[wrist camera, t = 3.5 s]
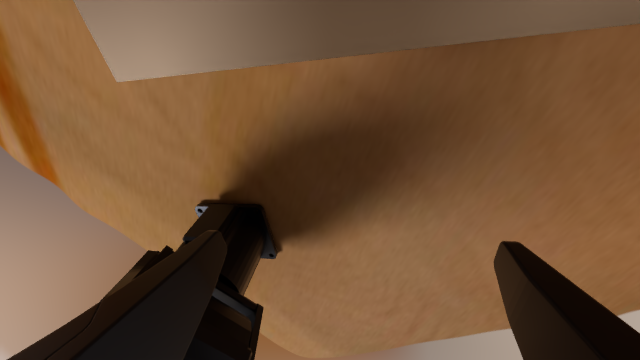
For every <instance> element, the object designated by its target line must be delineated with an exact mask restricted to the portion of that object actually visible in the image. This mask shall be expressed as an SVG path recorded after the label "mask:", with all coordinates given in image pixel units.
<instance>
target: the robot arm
mask: <svg viewBox="0 0 640 360" xmlns="http://www.w3.org/2000/svg"><path fill="white" fill-rule="evenodd" d="M257 210H258V211H257ZM195 211H196V213H197V215H198V217H199V218H198V220H197V221H196V222H195V223H194V224H193V226H192V227H191V228H190V229H189V230H188V232H187V233H186V234H185V235H184V237H183V241H184V242H183V243H182V244H181V245H180V247H179V248H178V249H177V250H176V252H174V251H172V250H173V249H172V248H170V247H169V246H166V247H165V248H164V249H163V250H162V251H161V252H159V251H150V250H148V251H147V252H146V254H145V255H144V256H143V257H142V258H141V259H140V260H139V261H138V262H137V263H136V264H135V265H134V267H133V268H132V269H131V270H130V271H129V272H128V273H127V274H126V275H125V276H124V277H123V278H122V279H121V280H120V281H119V282H118V283H117V284H116V285H115V286H114V287H113V288H112V290H111V291H110V292H108V294H107V295H106V296H105V297H104V298H103V299H102V300H101V301H100V302H99V303H97V304H96V305H94V306H93V307H91V308H90V309H88V310H87V311H85V312H84V313H82V314H81V315H79V316H78V317H76V318H75V319H73V320H71V321H70V322H68V323H67V324H65V325H64V326H62V327H60V328H59V329H57V330H55V331H54V332H52V333H51V334H49V335H47V336H46V337H44V338H42V339H41V340H39V341H37V342H36V343H34V344H32V345H31V346H29V347H27V348H26V349H24V350H22V351H21V352H19V353H17V354H16V355H14V356H12V357H11V358H9V359H7V360H254V357H255V353H256V347H257V341H258V336H259V330H260V324H261V319H262V313H263V306H261V305H259V304H256V303H254V302H252V301H251V300H249V299H248V298H246V297H245V296H244V293H245V291H246V289H247V287H248V285H249V282H250V280H251V278H252V276H253V274H254V271H255V269H256V267H257V265H258V263H259V260H260V258H266V259H275V258H276V256H277V250H276V247H275V243H274V240H273V237H272V234H271V231H270V228H269V225H268V222H267V218H266V215H265V212H264V209H263V207H262V206H260V205H257V204H198V205H197V206H196V207H195ZM494 269H495V272H496V276H497V280H498V284H499V288H500V291H501V295H502V299H503V303H504V306H505V310H506V314H507V317H508V321H509V323H510V326H511V329H512V331H513V334H514V336H515V339H516V342H517V344H518V347H519V349H520V352H521V355H522V357H523V360H640V333H638V332H637V331H636V330H634V329H633V328H632V327H631V326H629V325H628V324H626V323H625V322H624V321H623V320H621V319H620V318H619V317H617V316H616V315H615V314H613V313H612V312H611V311H610V310H608V309H607V308H606V307H604V306H603V305H602V304H600V303H599V302H598V301H596V300H595V299H594V298H592V297H591V296H590V295H588V294H587V293H586V292H584V291H583V290H582V289H580V288H579V287H578V286H576V285H575V284H574V283H573V282H571V281H570V280H569V279H567V278H566V277H565V276H563V275H562V274H561V273H559V272H558V271H557V270H555V269H554V268H553V267H551V266H550V265H549V264H547V263H546V262H545V261H543V260H542V259H541V258H539V257H538V256H537V255H536V254H534V253H533V252H532V251H530V250H529V249H528V248H526V247H525V246H524V245H522V244H521V243H519V242H515V241H502V242H501V243H500V244H499V247H498V250H497V253H496V256H495V259H494Z"/></svg>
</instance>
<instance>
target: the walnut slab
mask: <svg viewBox="0 0 640 360" xmlns="http://www.w3.org/2000/svg"><path fill="white" fill-rule="evenodd" d="M73 1H74V3H75V5H76V6H77V8H78V10H79V12H80V14H81V16H82V18H83V20H84V21H85V23H86V25H87V27H88V29H89V31H90V33H91V35H92V36H93V38H94V40H95V42H96V44H97V46H98V48H99V50H100V51H101V53H102V55H103V57H104V59H105V61H106V63H107V65H108V66H109V68H110V70H111V72H112V74H113V76H114V78H115V80H116V81H117V82H123V81H132V80H141V79H150V78H159V77H168V76H177V75H186V74H195V73H204V72H213V71H221V70H230V69H239V68H248V67H257V66H266V65H275V64H284V63H293V62H302V61H311V60H320V59H329V58H338V57H347V56H355V55H364V54H373V53H382V52H391V51H400V50H409V49H418V48H427V47H436V46H445V45H454V44H463V43H472V42H481V41H489V40H498V39H507V38H516V37H525V36H534V35H543V34H552V33H561V32H570V31H579V30H588V29H597V28H606V27H615V26H623V25H632V24H640V0H73Z"/></svg>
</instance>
